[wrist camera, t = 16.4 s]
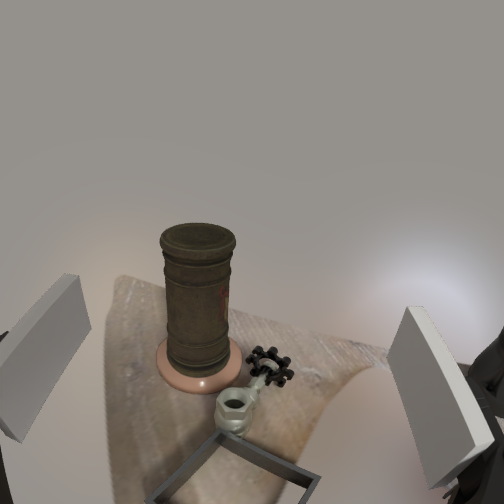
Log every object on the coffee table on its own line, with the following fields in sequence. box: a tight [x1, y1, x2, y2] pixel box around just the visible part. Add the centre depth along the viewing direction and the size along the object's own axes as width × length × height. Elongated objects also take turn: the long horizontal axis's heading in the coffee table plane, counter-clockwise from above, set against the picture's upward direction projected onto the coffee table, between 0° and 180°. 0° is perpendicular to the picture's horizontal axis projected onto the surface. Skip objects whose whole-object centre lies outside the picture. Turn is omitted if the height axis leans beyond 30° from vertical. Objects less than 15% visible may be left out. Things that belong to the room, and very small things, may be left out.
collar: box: [144, 427, 321, 504], centre depth 24 cm, size 12×12×3 cm
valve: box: [214, 346, 294, 439], centre depth 35 cm, size 7×7×12 cm
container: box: [160, 223, 236, 378], centre depth 39 cm, size 9×9×18 cm
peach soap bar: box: [156, 337, 242, 394], centre depth 43 cm, size 12×12×2 cm
